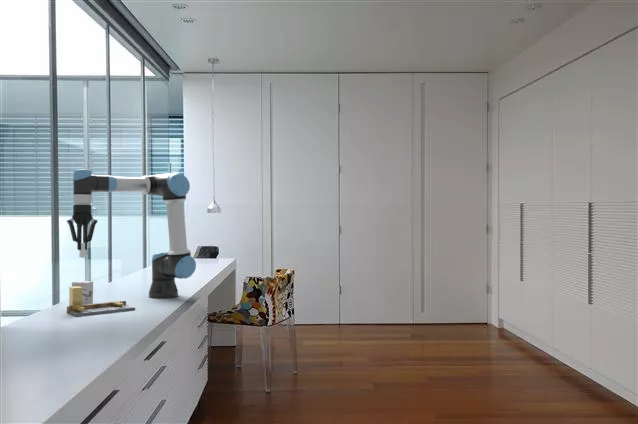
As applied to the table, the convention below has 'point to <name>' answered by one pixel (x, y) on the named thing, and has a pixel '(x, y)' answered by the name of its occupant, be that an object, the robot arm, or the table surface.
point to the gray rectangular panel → (101, 310)
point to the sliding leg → (75, 298)
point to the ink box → (85, 291)
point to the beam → (100, 305)
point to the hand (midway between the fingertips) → (82, 257)
